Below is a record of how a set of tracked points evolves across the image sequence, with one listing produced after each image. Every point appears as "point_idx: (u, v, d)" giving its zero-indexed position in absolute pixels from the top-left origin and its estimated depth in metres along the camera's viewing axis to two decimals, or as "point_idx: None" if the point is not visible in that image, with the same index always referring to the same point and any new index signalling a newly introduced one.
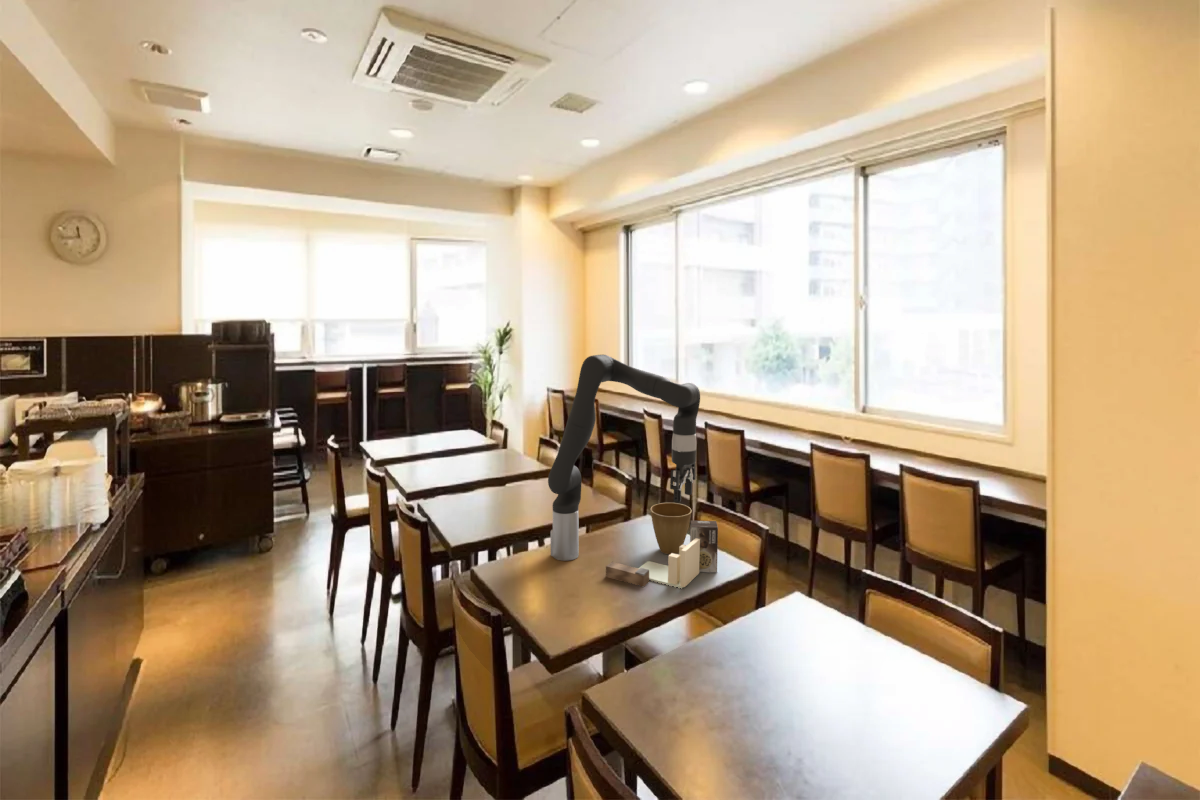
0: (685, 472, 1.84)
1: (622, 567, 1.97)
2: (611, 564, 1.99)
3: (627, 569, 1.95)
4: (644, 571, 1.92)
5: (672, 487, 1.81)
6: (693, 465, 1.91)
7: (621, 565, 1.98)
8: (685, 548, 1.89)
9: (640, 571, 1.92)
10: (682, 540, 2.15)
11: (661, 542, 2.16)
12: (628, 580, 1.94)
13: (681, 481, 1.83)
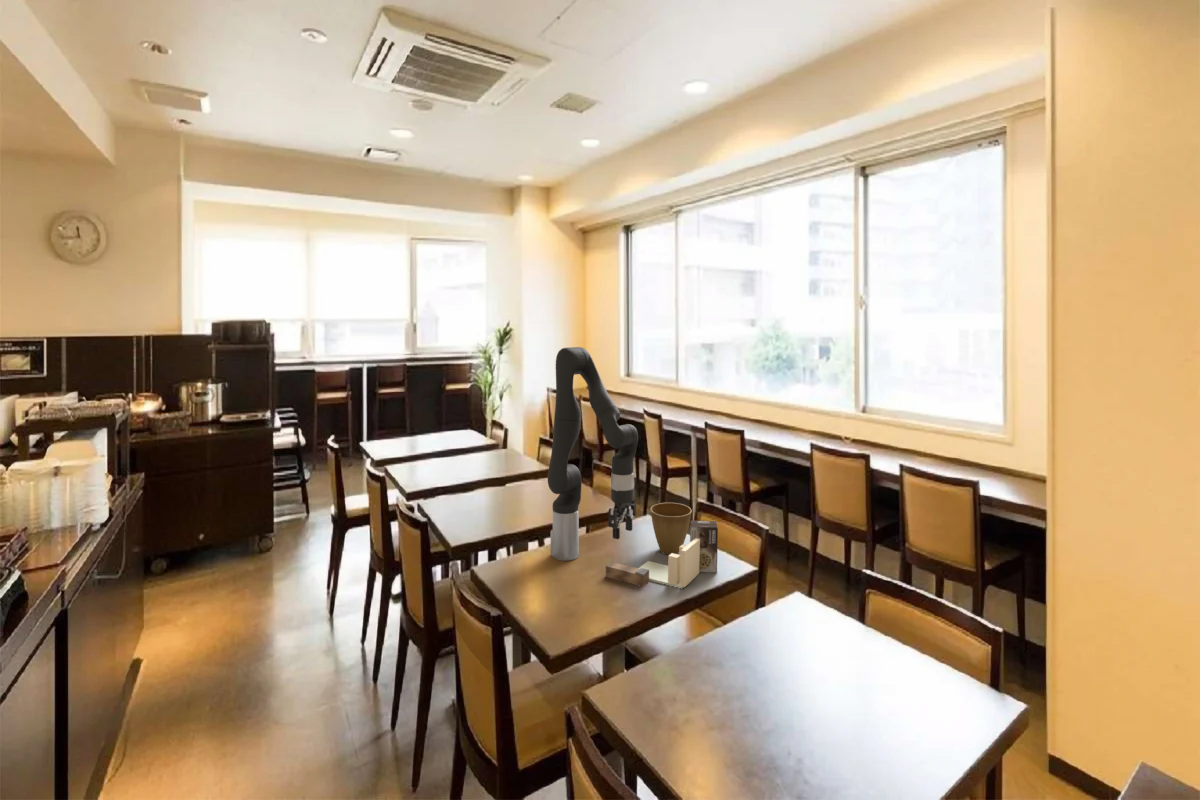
0: (623, 510, 1.91)
1: (622, 567, 1.97)
2: (611, 564, 1.99)
3: (627, 569, 1.95)
4: (644, 571, 1.92)
5: (610, 525, 1.89)
6: (633, 502, 1.98)
7: (621, 565, 1.98)
8: (685, 548, 1.89)
9: (640, 571, 1.92)
10: (682, 540, 2.15)
11: (661, 542, 2.16)
12: (628, 580, 1.94)
13: (619, 519, 1.90)
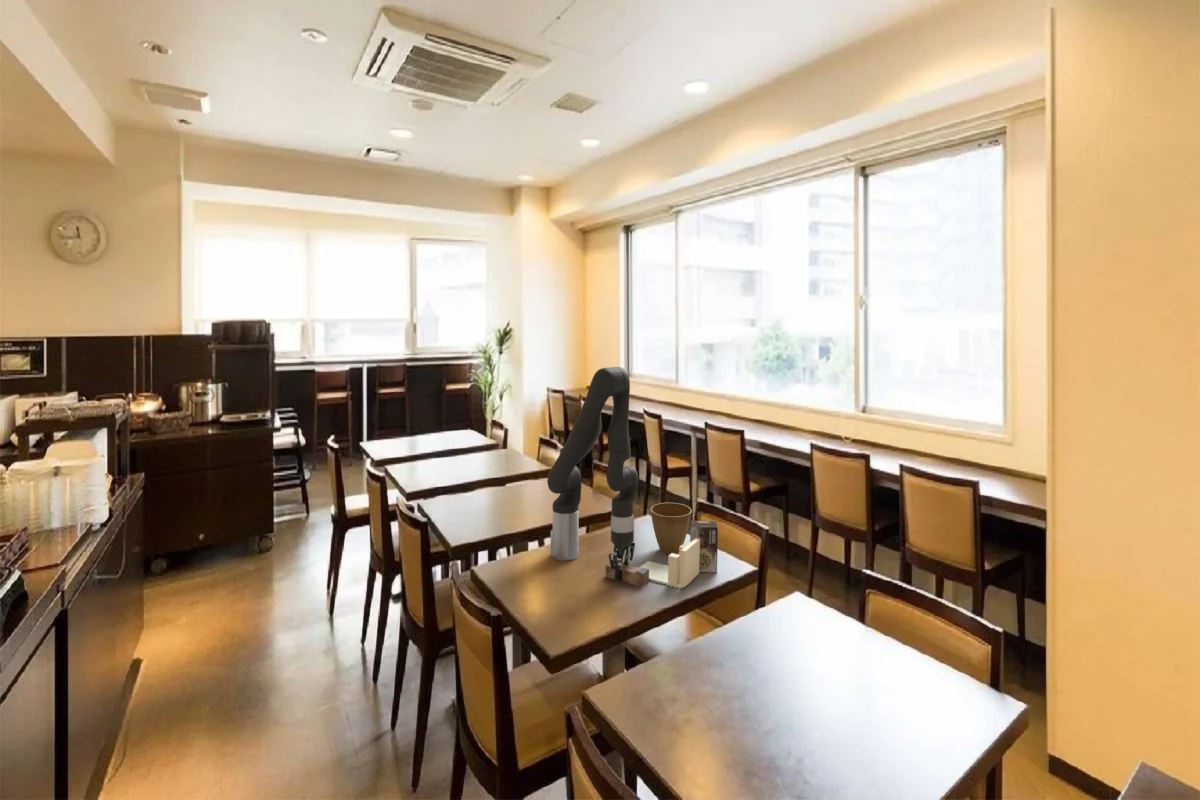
0: (623, 552, 1.93)
1: (622, 566, 1.97)
2: None
3: (627, 568, 1.95)
4: (644, 570, 1.92)
5: (613, 568, 1.92)
6: (632, 545, 2.00)
7: None
8: (685, 548, 1.89)
9: (640, 570, 1.92)
10: (682, 540, 2.15)
11: (661, 542, 2.16)
12: (628, 579, 1.94)
13: (620, 561, 1.93)
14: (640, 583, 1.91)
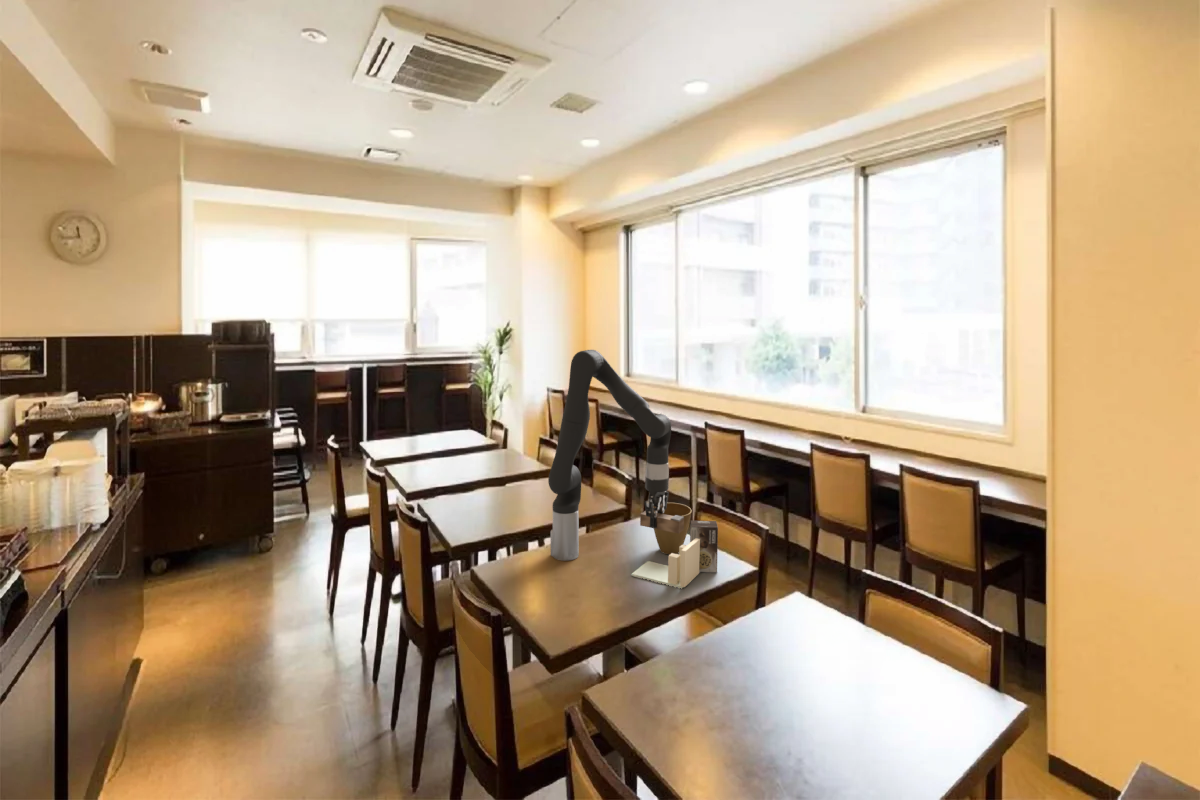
0: (658, 500, 1.94)
1: (657, 515, 1.98)
2: (645, 512, 2.00)
3: (662, 516, 1.96)
4: (679, 517, 1.93)
5: (648, 515, 1.93)
6: (666, 494, 2.01)
7: None
8: (685, 548, 1.89)
9: (675, 517, 1.93)
10: (682, 540, 2.15)
11: (661, 542, 2.16)
12: (663, 527, 1.95)
13: (655, 509, 1.94)
14: (676, 530, 1.92)
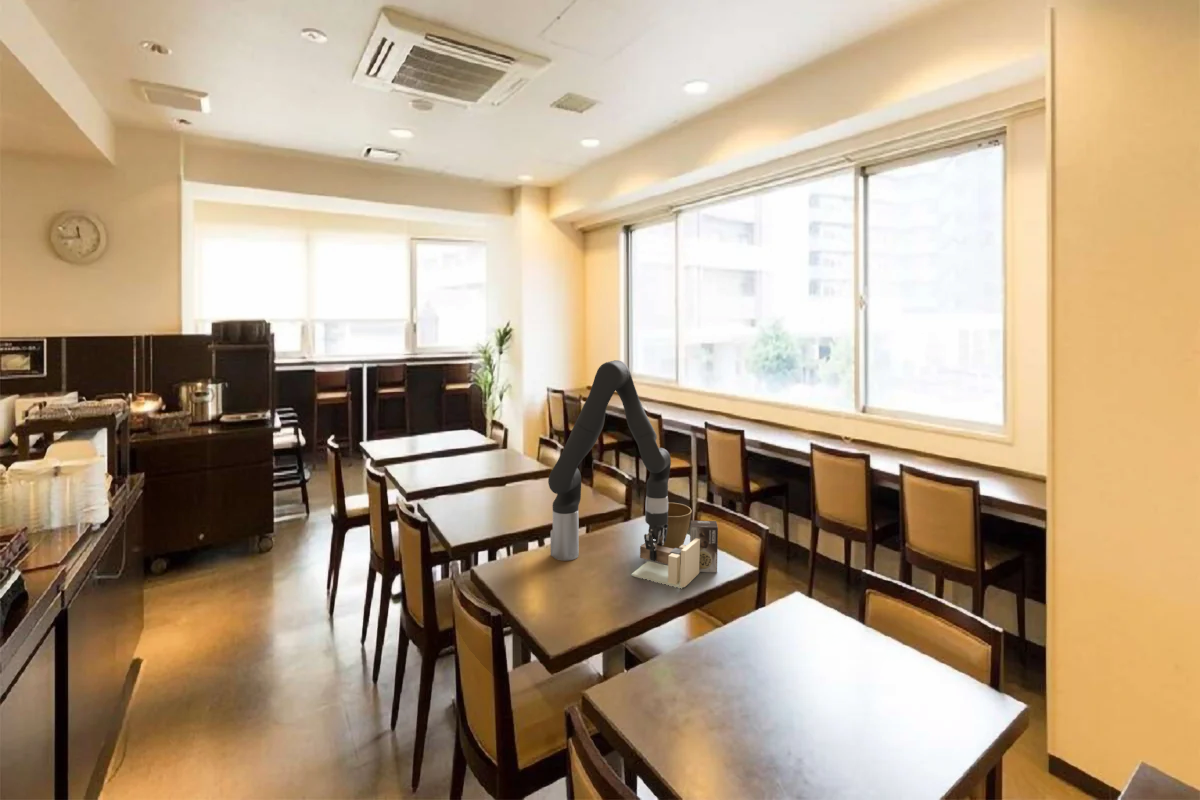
0: (658, 533, 1.96)
1: None
2: None
3: (662, 549, 1.98)
4: (679, 551, 1.95)
5: (648, 548, 1.95)
6: (666, 526, 2.03)
7: None
8: (685, 548, 1.89)
9: (675, 551, 1.95)
10: (682, 540, 2.15)
11: None
12: (663, 560, 1.96)
13: (655, 542, 1.96)
14: None
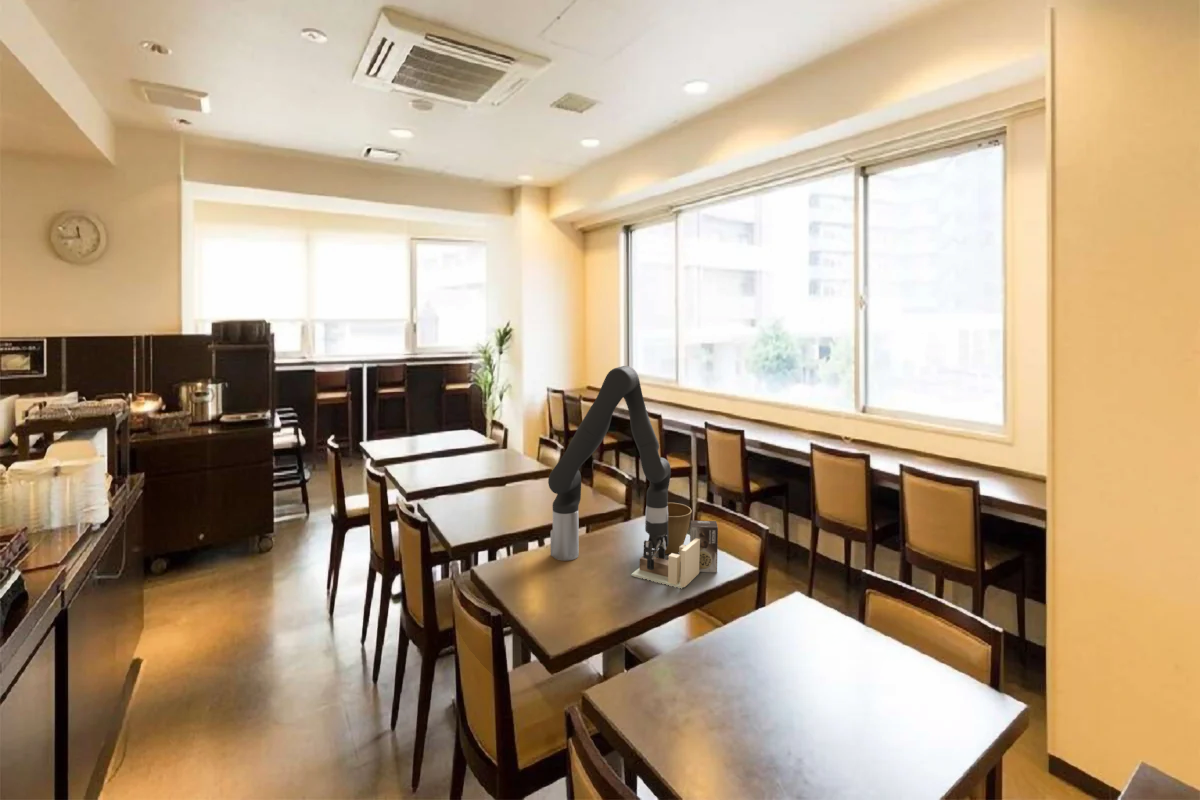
0: (657, 542, 1.96)
1: (656, 559, 2.00)
2: None
3: (661, 561, 1.99)
4: None
5: (645, 557, 1.94)
6: (666, 533, 2.03)
7: (654, 557, 2.02)
8: (685, 548, 1.89)
9: None
10: (682, 540, 2.15)
11: None
12: (662, 572, 1.97)
13: (654, 550, 1.96)
14: None
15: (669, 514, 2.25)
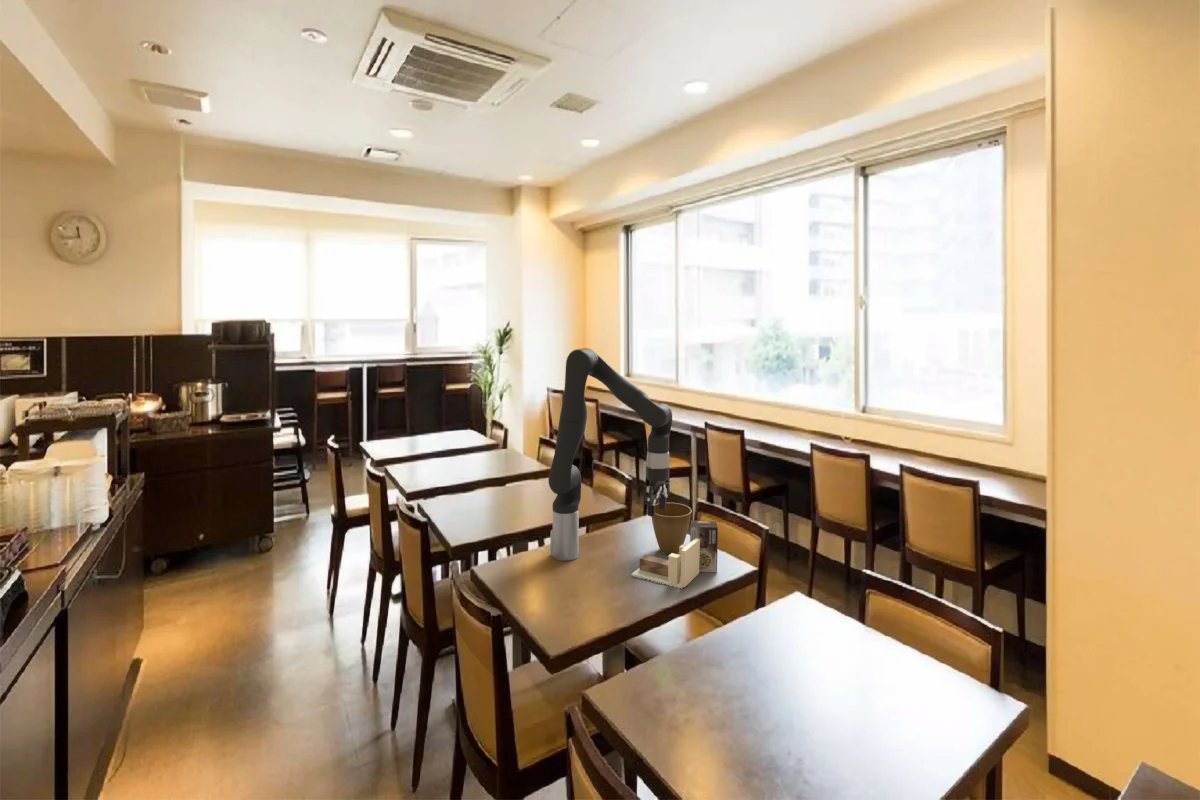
0: (658, 488, 1.95)
1: (656, 559, 2.00)
2: (644, 556, 2.02)
3: (661, 561, 1.99)
4: None
5: (646, 502, 1.92)
6: (667, 481, 2.01)
7: (654, 557, 2.02)
8: (685, 548, 1.89)
9: None
10: (682, 540, 2.15)
11: (661, 542, 2.16)
12: (662, 572, 1.97)
13: (654, 496, 1.94)
14: None
15: (669, 514, 2.25)
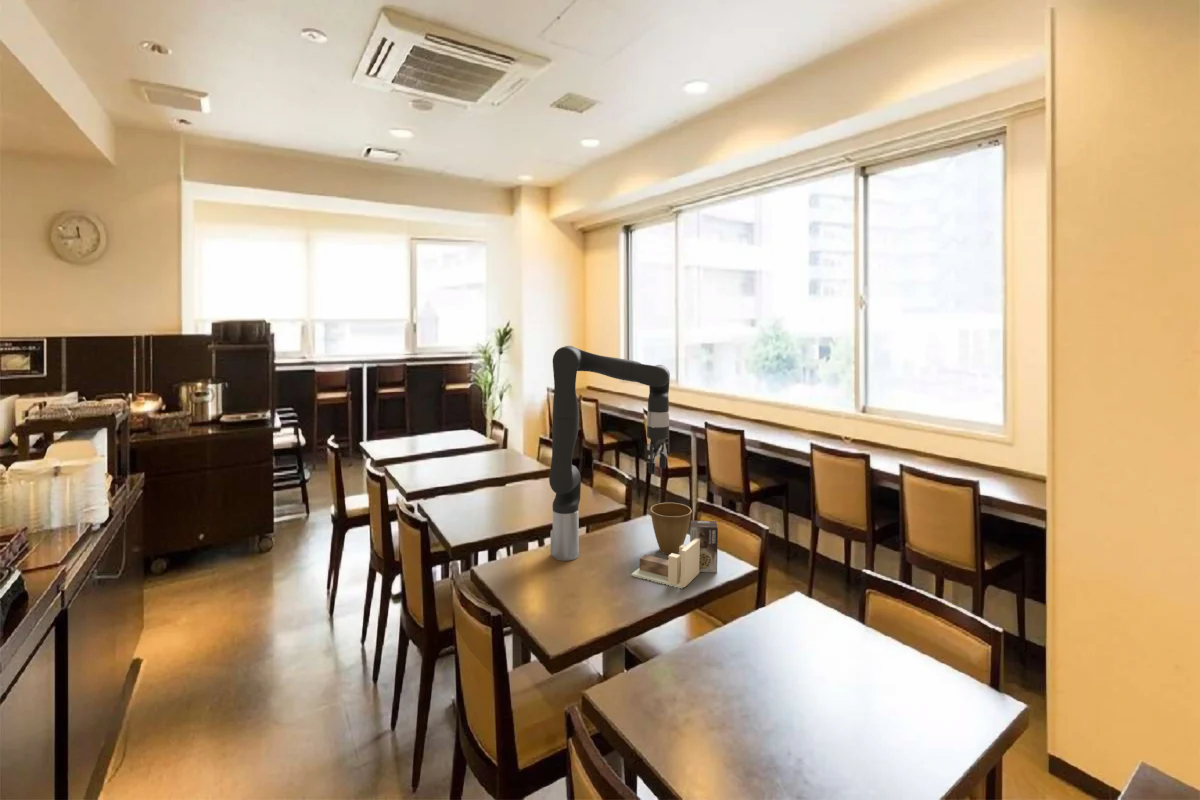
0: (659, 446, 2.01)
1: (656, 559, 2.00)
2: (644, 556, 2.02)
3: (661, 561, 1.99)
4: None
5: (646, 460, 1.98)
6: (667, 441, 2.08)
7: (654, 557, 2.02)
8: (685, 548, 1.89)
9: None
10: (682, 540, 2.15)
11: (661, 542, 2.16)
12: (662, 572, 1.97)
13: (655, 454, 2.00)
14: None
15: (669, 514, 2.25)
